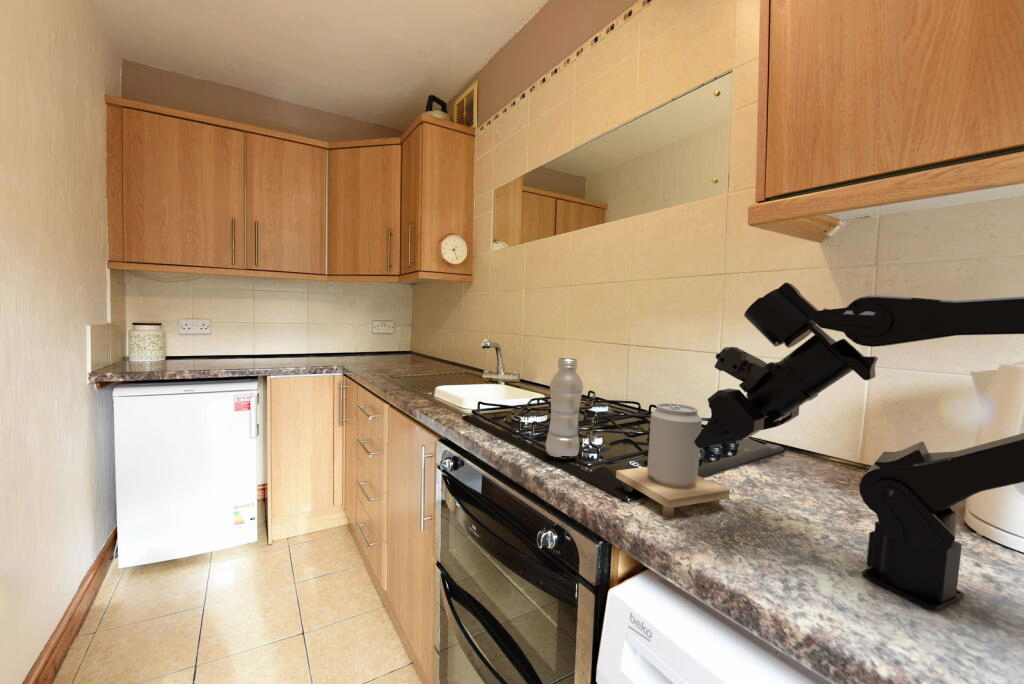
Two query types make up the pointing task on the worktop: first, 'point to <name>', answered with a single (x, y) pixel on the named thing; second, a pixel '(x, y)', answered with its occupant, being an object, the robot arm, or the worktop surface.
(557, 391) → the plastic bottle
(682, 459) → the can
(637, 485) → the small wooden stand
